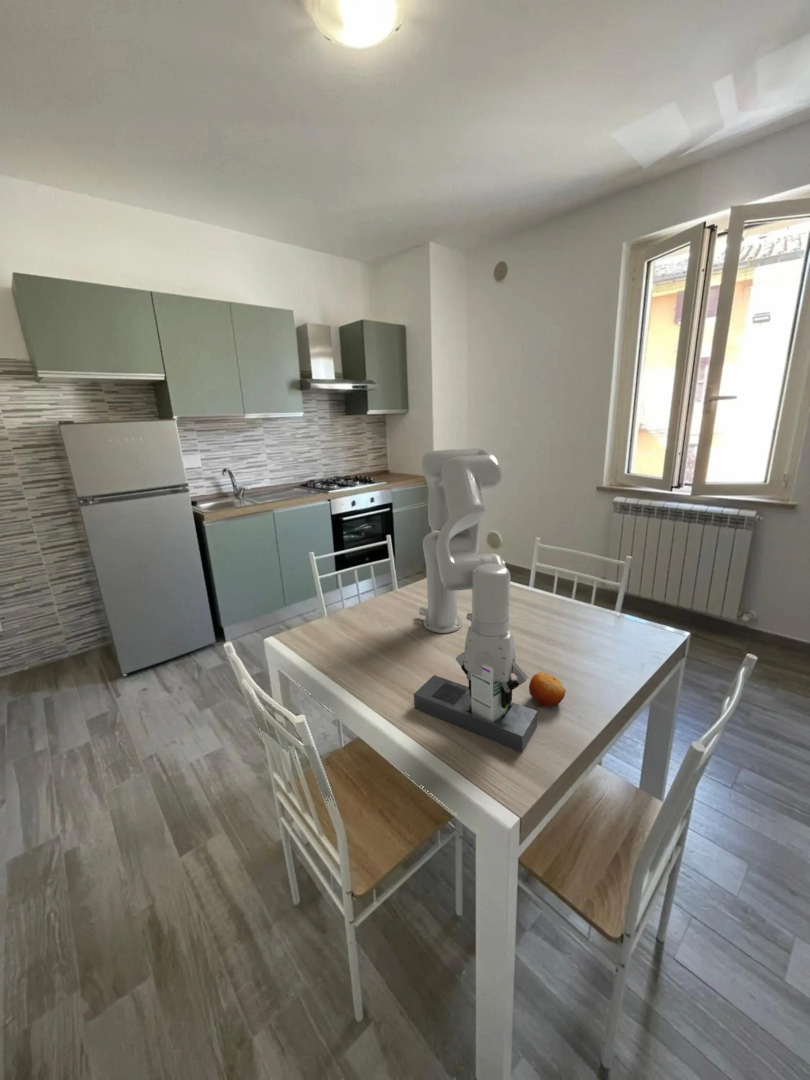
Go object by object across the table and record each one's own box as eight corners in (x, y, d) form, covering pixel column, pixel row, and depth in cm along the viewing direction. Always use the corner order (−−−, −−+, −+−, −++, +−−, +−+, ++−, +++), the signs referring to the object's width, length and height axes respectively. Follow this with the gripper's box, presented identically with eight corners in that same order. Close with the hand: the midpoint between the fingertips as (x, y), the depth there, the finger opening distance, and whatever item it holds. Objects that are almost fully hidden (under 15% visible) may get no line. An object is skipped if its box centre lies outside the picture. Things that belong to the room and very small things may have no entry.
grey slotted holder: (414, 708, 100) (413, 693, 98) (434, 688, 107) (434, 674, 105) (522, 753, 85) (522, 736, 84) (537, 726, 92) (537, 710, 91)
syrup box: (492, 729, 89) (492, 669, 85) (470, 716, 93) (470, 658, 90) (508, 717, 93) (509, 658, 89) (486, 704, 97) (487, 648, 93)
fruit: (516, 688, 103) (533, 662, 101) (542, 700, 104) (560, 674, 103) (528, 709, 95) (547, 681, 94) (556, 722, 97) (575, 694, 95)
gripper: (444, 621, 89) (446, 695, 94) (525, 642, 79) (522, 723, 84) (461, 608, 95) (462, 678, 100) (538, 626, 85) (535, 703, 90)
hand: (489, 698), depth 92 cm, fingers closed on syrup box, 6 cm apart
